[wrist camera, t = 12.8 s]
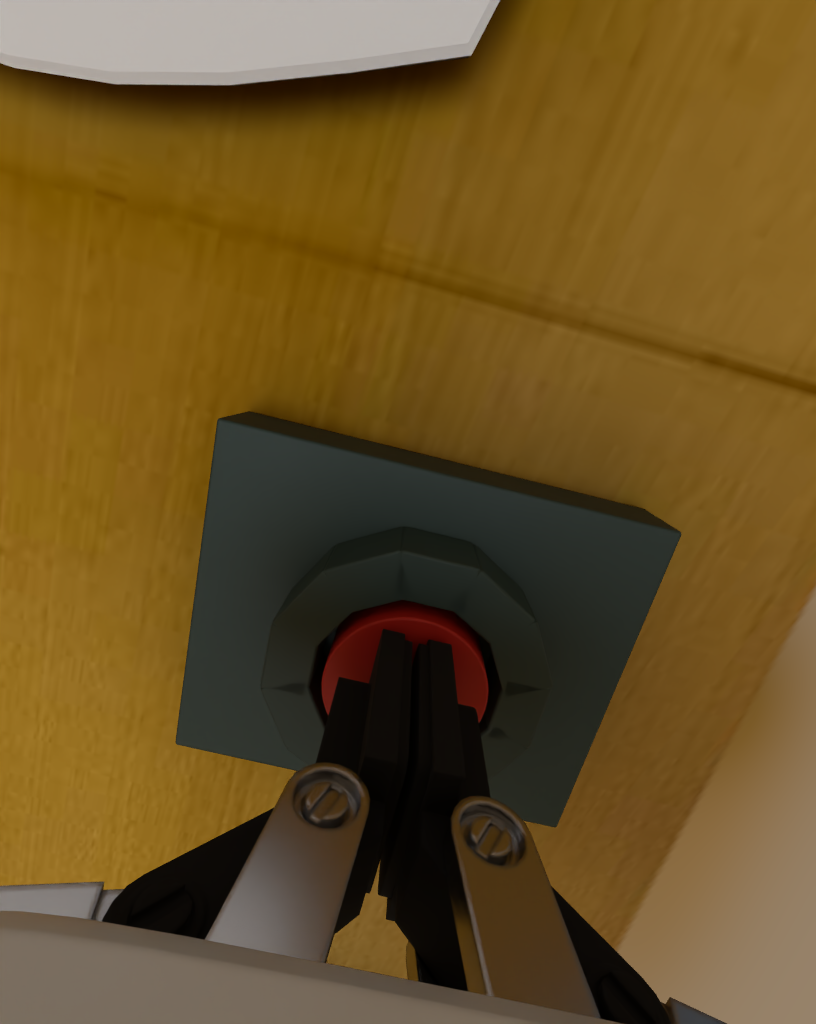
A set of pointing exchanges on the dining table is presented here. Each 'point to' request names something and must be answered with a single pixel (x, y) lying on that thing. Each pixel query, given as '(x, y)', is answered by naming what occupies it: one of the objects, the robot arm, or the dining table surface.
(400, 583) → the block
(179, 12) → the plate
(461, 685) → the stop button
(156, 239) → the dining table surface
